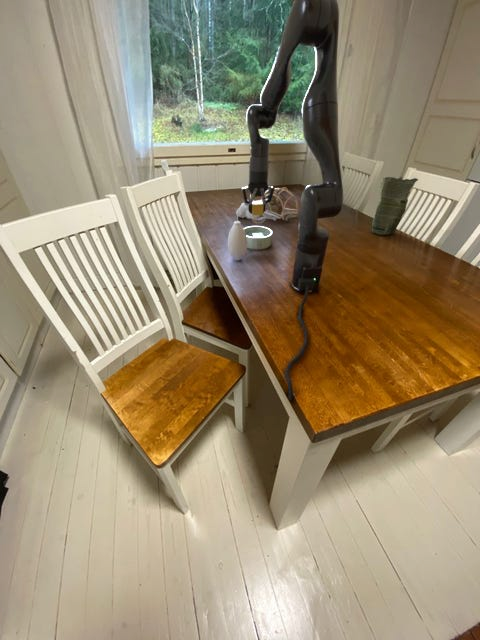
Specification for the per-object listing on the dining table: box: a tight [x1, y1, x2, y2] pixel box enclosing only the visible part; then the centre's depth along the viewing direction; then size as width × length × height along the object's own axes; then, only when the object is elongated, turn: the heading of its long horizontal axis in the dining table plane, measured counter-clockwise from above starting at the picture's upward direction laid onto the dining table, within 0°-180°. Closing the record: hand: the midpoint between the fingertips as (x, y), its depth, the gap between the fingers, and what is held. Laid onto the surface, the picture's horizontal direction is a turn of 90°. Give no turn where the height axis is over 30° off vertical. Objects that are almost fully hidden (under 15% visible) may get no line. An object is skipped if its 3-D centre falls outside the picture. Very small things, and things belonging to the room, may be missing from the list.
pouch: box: [370, 176, 419, 236], centre depth 128 cm, size 11×12×25 cm
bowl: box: [243, 225, 273, 251], centre depth 123 cm, size 14×14×6 cm
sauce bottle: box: [227, 215, 248, 261], centre depth 106 cm, size 8×8×18 cm
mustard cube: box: [252, 200, 264, 216], centre depth 117 cm, size 5×5×5 cm
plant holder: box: [235, 186, 300, 224], centre depth 147 cm, size 28×35×16 cm
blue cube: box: [252, 233, 264, 238], centre depth 121 cm, size 5×5×5 cm
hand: (256, 212), depth 118 cm, fingers closed on mustard cube, 4 cm apart
